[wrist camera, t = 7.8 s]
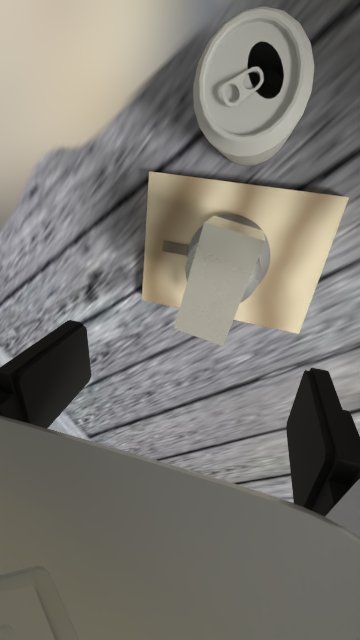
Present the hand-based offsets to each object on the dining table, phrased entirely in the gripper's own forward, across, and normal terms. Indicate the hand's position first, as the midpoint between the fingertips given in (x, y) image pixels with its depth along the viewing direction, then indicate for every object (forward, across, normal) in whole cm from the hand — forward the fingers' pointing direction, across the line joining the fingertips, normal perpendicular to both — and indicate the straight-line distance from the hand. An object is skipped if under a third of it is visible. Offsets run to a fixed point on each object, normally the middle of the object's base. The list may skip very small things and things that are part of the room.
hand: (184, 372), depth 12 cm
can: (+24, 0, -13) cm, 27 cm away
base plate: (+24, 0, 0) cm, 24 cm away
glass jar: (+21, 0, 0) cm, 21 cm away
